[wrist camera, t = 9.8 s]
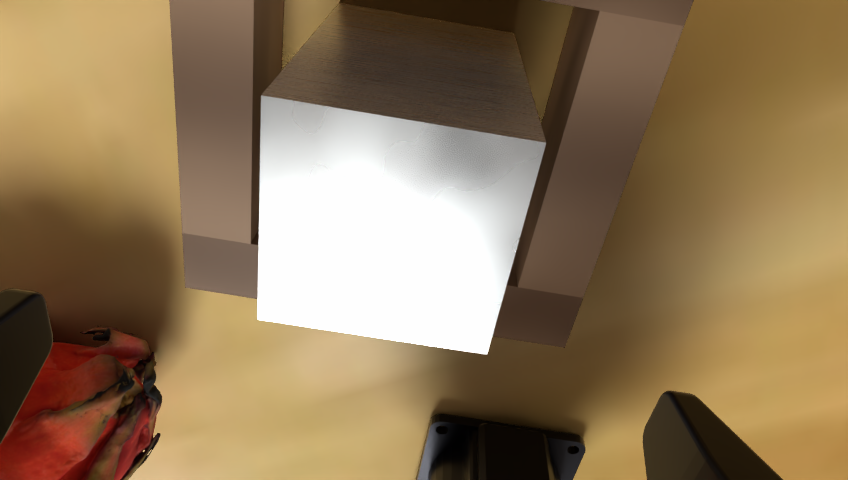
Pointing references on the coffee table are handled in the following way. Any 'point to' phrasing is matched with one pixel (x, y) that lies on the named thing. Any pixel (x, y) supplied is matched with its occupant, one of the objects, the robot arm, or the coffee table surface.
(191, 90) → the well block
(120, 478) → the dragon fruit
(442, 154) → the rectangular block
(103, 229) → the coffee table surface
